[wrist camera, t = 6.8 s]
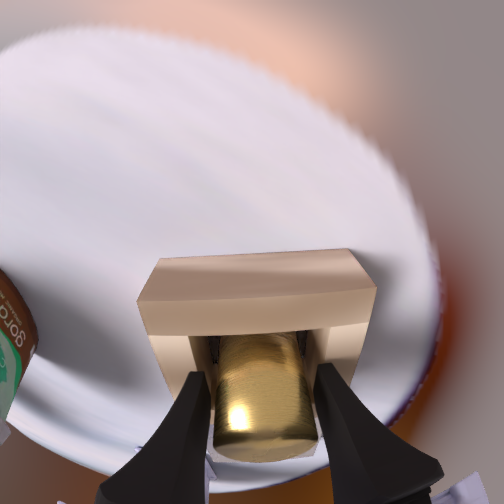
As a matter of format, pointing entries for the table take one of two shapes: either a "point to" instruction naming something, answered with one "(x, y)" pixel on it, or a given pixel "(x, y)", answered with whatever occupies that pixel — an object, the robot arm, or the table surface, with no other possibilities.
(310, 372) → the beige square frame
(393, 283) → the table surface
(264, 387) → the peg
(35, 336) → the food container
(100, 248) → the table surface
